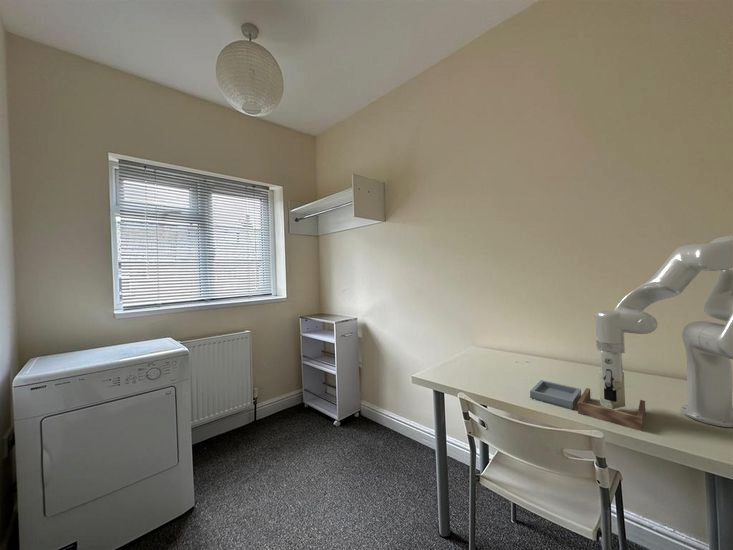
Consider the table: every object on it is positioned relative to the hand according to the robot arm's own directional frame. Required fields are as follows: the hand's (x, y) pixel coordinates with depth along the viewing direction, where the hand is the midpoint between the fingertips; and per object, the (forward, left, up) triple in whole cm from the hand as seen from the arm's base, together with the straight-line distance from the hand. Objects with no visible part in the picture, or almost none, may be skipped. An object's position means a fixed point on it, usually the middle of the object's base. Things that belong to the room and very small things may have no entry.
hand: (612, 395), depth 101 cm
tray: (+17, 0, -6) cm, 18 cm away
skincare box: (0, 0, -4) cm, 4 cm away
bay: (0, +1, -6) cm, 6 cm away
